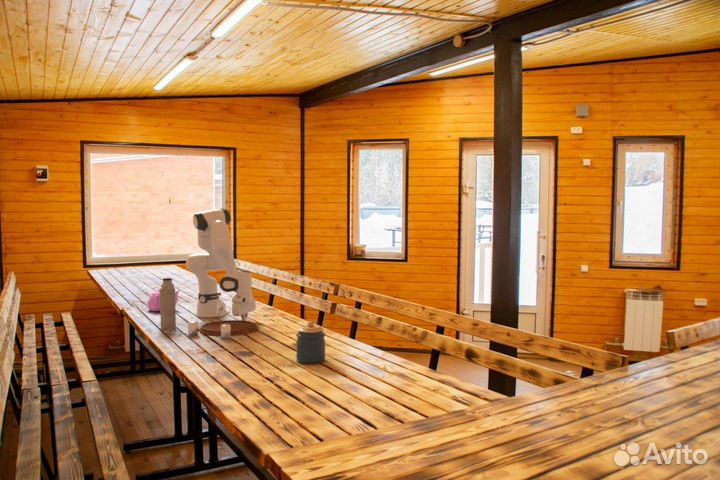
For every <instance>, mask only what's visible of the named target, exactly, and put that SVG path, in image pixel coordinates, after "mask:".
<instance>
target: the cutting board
mask: <svg viewBox="0 0 720 480" xmlns="http://www.w3.org/2000/svg"><path fill="white" fill-rule="evenodd" d="M222 324H230V325H231V337H235V336H236V335H237V336H242V335H247V334H248V333H249V334H252V333H255V332H257V331H258V330H259V326H258V325H257V324H256V323H255V322H253V321H251V320H250V321H249V320H247V321H242V319H241V320H239V319H236V320H235V319H234V320H233V319H230V320H219V321H218V320H217V321H211V322H207V323H205V324H202V325H200V328H198V334H199V333H200V334H201V335H204V336H210V337H221V325H222ZM257 329H258V330H257ZM256 330H257V331H256Z"/></svg>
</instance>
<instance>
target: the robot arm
mask: <svg viewBox="0 0 720 480" xmlns="http://www.w3.org/2000/svg"><path fill="white" fill-rule="evenodd" d="M231 221H232V216H231V213H230V211H229V210H228V209H227V208H219V209H217V208H216V209H210V210H209V209H208V210H205V211H198V212H196V213H194V215H193V217H192V223H193V226H194V228H195V229H196V230H197V244H198V247H199V248H200V250H203V251H205V252H206V253H194V254H188V256H187V258H186V260H185V265H186V267H187V270H189V271H191V272H192V273H193V274H194V275H195V277H196V279H197V283H198V295H197V298H198V301H197V302H196V303H197V305H196V312H195V316H196V317H198V318H217V317H220V318H221V317H223V316H225V315H228V314H229V313H230V310H228V309H227V308H226V307H227V306H226V303H225V302H224V301H223V300H221V299H220V296H222V292H218V280H217V279H216V278H215V277H213V276H211V275H208V272H210V271H211V272H219V271H223V270H225V274H226V275H225V276H223V277H222V278H221V279H220V280H219V288H220V289H221V291H223V292H225V293H230V292H236V294H235V295H234V297H232V299H231V303H232V305H231V313H232V316H233V317H240V318H241V321H248V316H249V313H252V312H254V311H256V308H257V307H256V300H255V297H254V295H253V291H252V285H253V281H252V280H253V279H252V273H251V271H249V270H247V269H241V268H239V269H238V268H237V265H236V260H235V257H234V253H233V245H232V244H233V243H232V239H231V233H230V230H229V227H228V225H230V224H231Z"/></svg>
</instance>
